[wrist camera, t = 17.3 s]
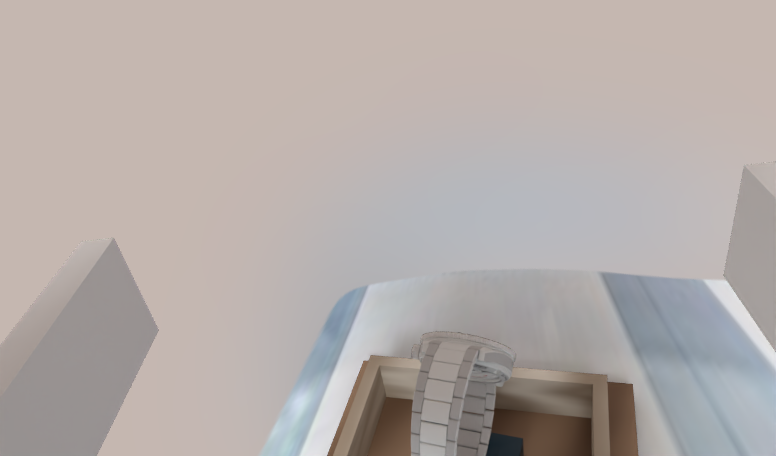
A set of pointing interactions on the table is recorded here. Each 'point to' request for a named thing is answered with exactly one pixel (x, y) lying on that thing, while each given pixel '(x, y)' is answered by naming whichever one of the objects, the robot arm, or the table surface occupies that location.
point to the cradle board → (495, 412)
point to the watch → (459, 396)
